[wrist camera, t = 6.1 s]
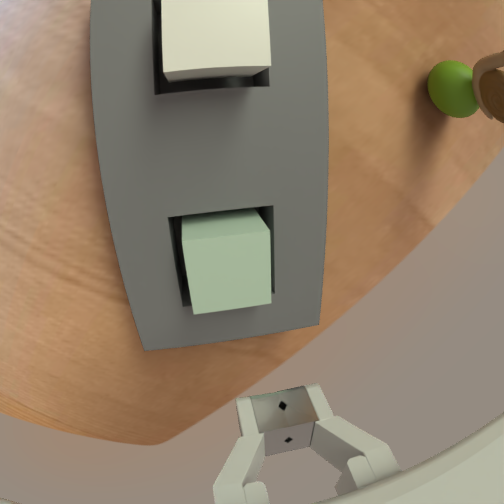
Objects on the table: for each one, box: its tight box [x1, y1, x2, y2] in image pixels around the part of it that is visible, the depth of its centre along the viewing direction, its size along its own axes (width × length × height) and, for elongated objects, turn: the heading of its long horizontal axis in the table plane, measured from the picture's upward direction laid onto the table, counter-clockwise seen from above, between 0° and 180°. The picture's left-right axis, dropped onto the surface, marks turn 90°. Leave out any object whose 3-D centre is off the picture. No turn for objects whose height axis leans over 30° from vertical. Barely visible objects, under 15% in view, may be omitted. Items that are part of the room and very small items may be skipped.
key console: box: [90, 0, 329, 351], centre depth 20 cm, size 14×28×5 cm, turn 3°
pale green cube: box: [182, 207, 271, 314], centre depth 21 cm, size 5×5×5 cm
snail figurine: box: [428, 51, 504, 123], centre depth 17 cm, size 5×6×12 cm
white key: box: [161, 0, 271, 83], centre depth 14 cm, size 5×5×5 cm
